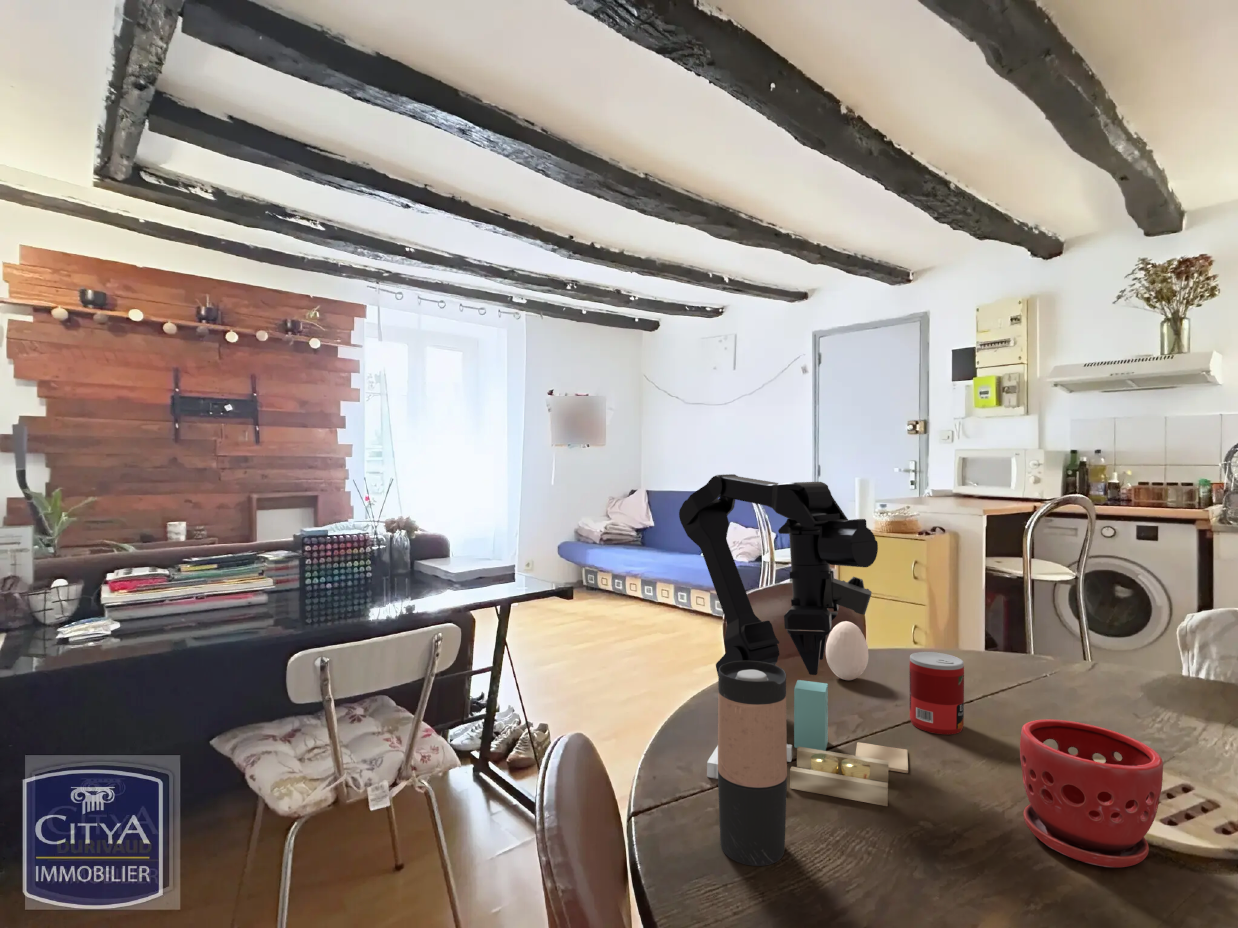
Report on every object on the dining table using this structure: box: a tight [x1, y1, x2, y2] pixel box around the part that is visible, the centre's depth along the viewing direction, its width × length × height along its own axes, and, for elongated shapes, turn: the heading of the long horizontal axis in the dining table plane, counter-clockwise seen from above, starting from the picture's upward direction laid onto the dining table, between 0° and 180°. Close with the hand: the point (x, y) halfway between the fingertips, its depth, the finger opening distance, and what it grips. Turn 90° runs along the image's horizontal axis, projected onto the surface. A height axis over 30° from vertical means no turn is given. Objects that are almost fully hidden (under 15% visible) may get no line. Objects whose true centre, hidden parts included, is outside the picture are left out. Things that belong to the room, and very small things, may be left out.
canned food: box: [908, 651, 965, 736], centre depth 108 cm, size 8×8×11 cm
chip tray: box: [706, 743, 793, 780], centre depth 94 cm, size 10×10×2 cm
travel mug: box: [717, 661, 788, 867], centre depth 75 cm, size 8×8×20 cm
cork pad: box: [854, 741, 909, 774], centre depth 97 cm, size 7×7×1 cm
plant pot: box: [1019, 718, 1164, 868], centre depth 75 cm, size 13×13×12 cm
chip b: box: [840, 758, 871, 780], centre depth 89 cm, size 4×4×3 cm
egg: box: [825, 620, 869, 681], centre depth 131 cm, size 8×8×11 cm
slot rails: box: [789, 747, 889, 807], centre depth 89 cm, size 12×8×2 cm, turn 67°
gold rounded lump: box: [810, 753, 839, 775], centre depth 90 cm, size 4×4×3 cm
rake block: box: [793, 679, 829, 751], centre depth 101 cm, size 4×4×9 cm
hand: (816, 666), depth 101 cm, fingers open, 9 cm apart
